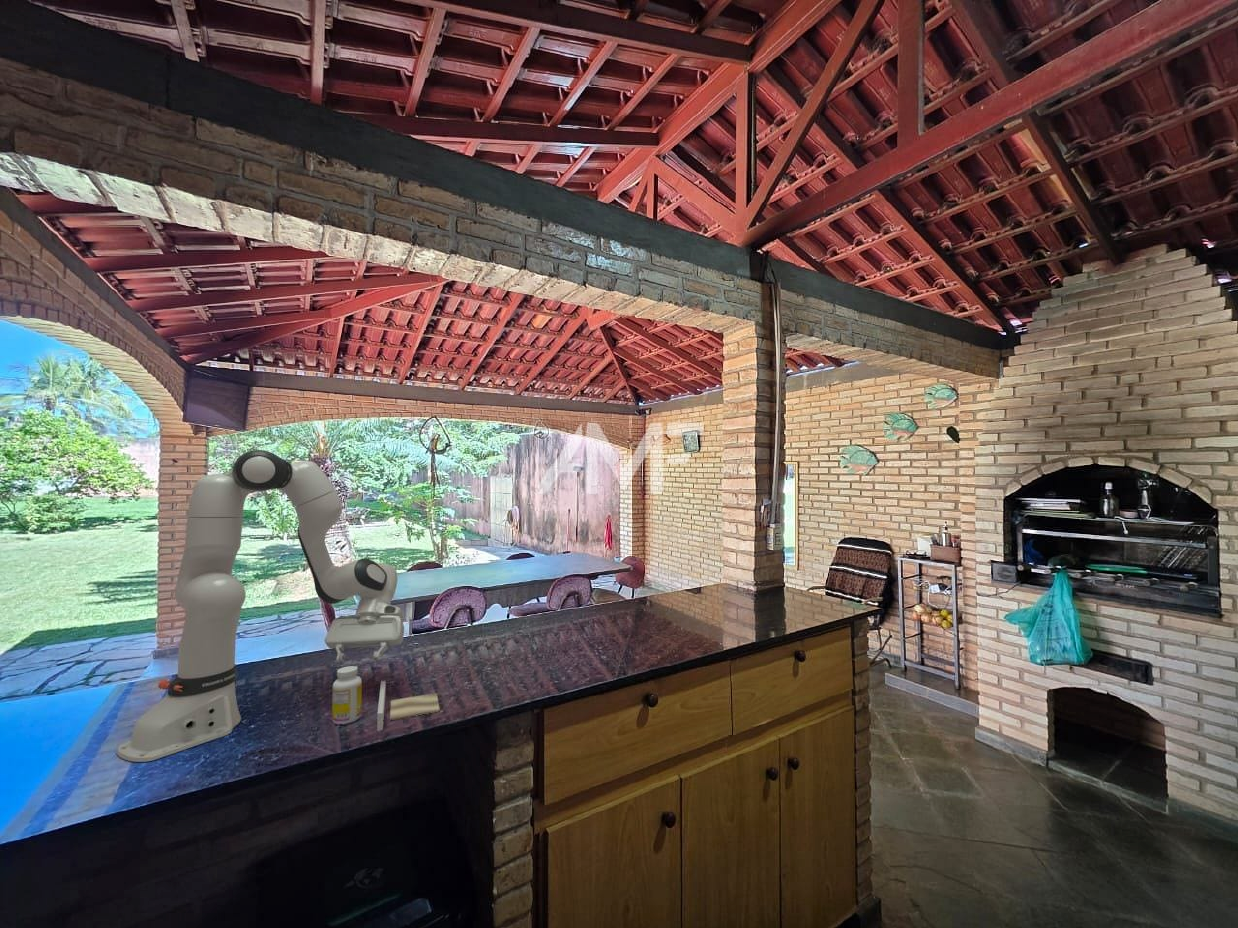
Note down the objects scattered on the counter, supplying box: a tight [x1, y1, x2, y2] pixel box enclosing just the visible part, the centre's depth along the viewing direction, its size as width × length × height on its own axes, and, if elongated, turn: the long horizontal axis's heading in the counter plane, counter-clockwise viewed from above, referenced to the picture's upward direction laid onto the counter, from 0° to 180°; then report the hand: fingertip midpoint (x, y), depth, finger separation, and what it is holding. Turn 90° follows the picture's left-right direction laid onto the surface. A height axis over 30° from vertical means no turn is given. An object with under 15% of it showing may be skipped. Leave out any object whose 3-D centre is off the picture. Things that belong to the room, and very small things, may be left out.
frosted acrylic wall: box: [376, 680, 387, 732], centre depth 130 cm, size 22×1×4 cm, turn 24°
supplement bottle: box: [331, 665, 363, 725], centre depth 126 cm, size 7×7×13 cm
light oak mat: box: [389, 692, 441, 721], centre depth 133 cm, size 12×12×1 cm
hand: (357, 660), depth 133 cm, fingers open, 8 cm apart
